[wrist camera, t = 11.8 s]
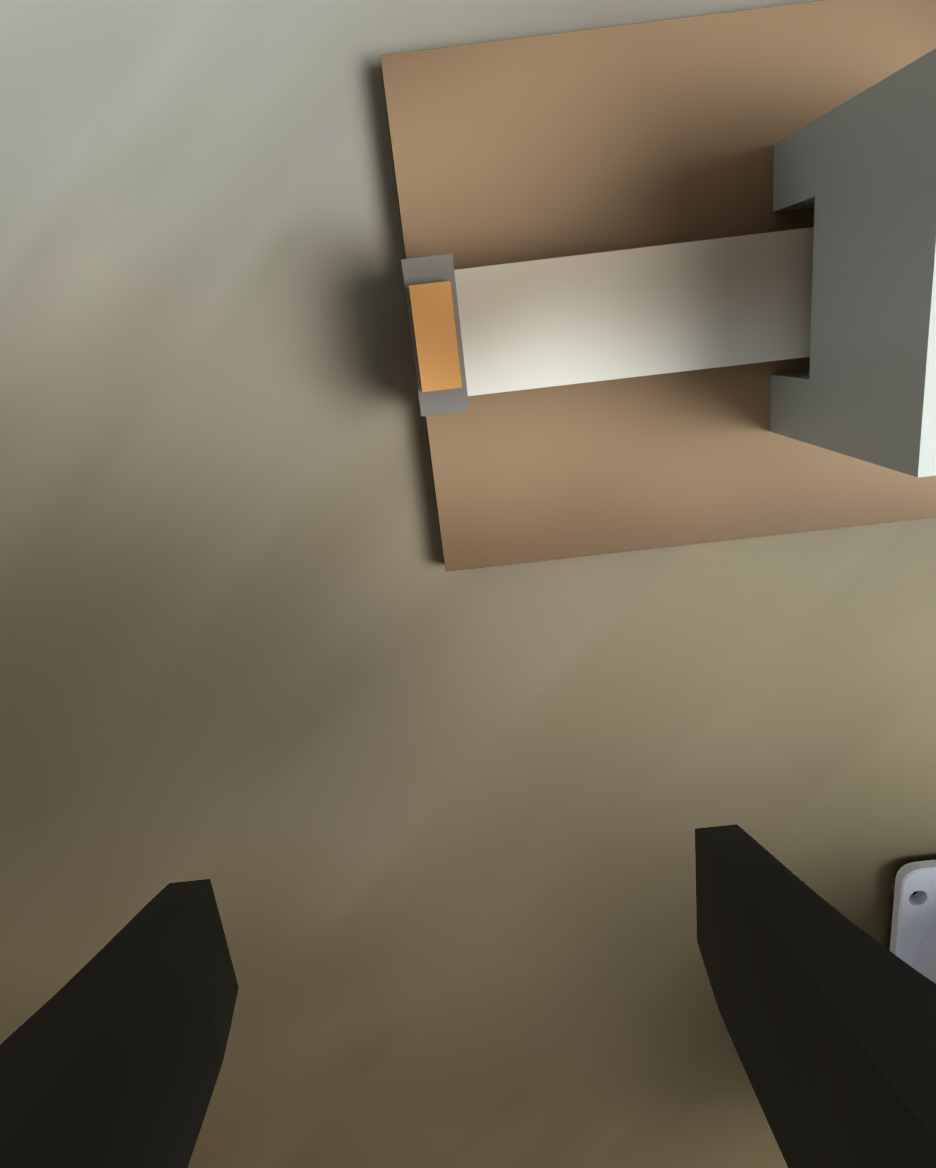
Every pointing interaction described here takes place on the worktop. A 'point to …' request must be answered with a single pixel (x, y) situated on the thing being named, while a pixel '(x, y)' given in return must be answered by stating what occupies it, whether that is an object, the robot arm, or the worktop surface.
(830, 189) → the block
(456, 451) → the rail mount
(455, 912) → the worktop surface
